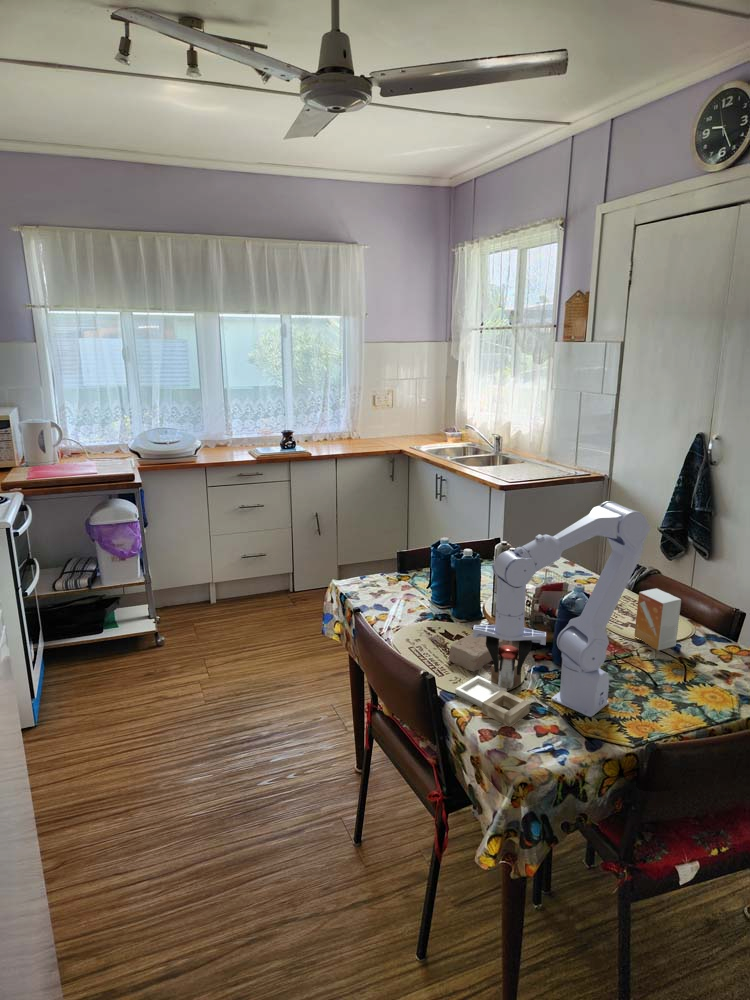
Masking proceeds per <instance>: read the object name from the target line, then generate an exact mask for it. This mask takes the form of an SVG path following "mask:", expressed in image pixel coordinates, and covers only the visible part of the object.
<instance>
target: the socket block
mask: <svg viewBox="0 0 750 1000" xmlns="http://www.w3.org/2000/svg"><path fill="white" fill-rule="evenodd" d="M530 703H531V702H529V701H527V700H525V699H523V698H520V697H518V696H515V694H512V693H510V692H508V691H507V692H505V691H503V690H501V691H500V692H498V693H497V694H495V695H493V696H492V697H490V698H489V699H487V700H486V701H484V702H482V708H481V714H482V715H485V716H487V717H489V718H491V719H493V720H495V721H497V722H499V723H501V724H503V725H505V726H507V727H508V728H511V727H512V726H513V725H515V724H516V723H517V722H519V721H520V720H521V719H524V718H525V717H526V716H527V715H529V714H530V707H531V706H530ZM502 706H504V707H506V708H508V709H506V708H504V707H502Z"/></svg>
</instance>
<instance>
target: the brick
mask: <svg viewBox="0 0 750 1000" xmlns="http://www.w3.org/2000/svg"><path fill="white" fill-rule="evenodd" d="M503 645H510V646H513V641H507V640H502V639H499V647H500V646H503ZM449 647H450V648H449V656H448V660H449V662H451V663H453V664H455V665H458V666H460V667H462V668H464V669H466V670H468V671H471V672H477V671H478V670H480V669H482V668H483V667H484V666H485V665H488V664H489V663H490V662H493V660H492V657H491V655H490V653H489V651H488V649H487V647H486V637H478V638H473V633H471V634H469V635H466V636H465V637H462V638H461V639H458V640H456V641H455V642H454V643H453V644H451V645H450V646H449ZM499 657H501V656H500V655H499Z"/></svg>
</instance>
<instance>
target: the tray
mask: <svg viewBox="0 0 750 1000" xmlns="http://www.w3.org/2000/svg"><path fill="white" fill-rule="evenodd" d="M501 690H503V691H505V692H508V690H507V689H506V688H502V687H500V686H499V685H497V684H495V683H493V682H491V680H488V679H486V678H484V677H482V676H480V675H476V676H475V677H473V678H471V679H469V680H468V681H466V682H464V683H463V684H461V685H459V686H458V687H455V692H454V693H455V694H456V695H455V696H457V697H459V698H461V699H463V700H465V701H467V702H469V703H472V704H473V705H475V706H477V707H479V708H481V709H482V702H484V701H486V700H487V699H489V698H490V697H492V696H493V695H495V694H497V693H498V692H500V691H501Z"/></svg>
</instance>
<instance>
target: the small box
mask: <svg viewBox="0 0 750 1000" xmlns="http://www.w3.org/2000/svg"><path fill="white" fill-rule="evenodd" d="M681 604H682V599H681V598H679V597H677V596H674V595H673V594H671V593H669V592H666V591H664V590H661V589H660V588H650V589H647V590H643V591H639V592H638V599H637V608H636V618H635V627H634V636H635V637H637V638H639V639H641V640H643V641H644V642H645V643H644V642H643V643H644V644H646V645H647V644H648V645H647V646H649V647H651V648H653V649H654V650H656V651H658V652H659V651H662V650H665V649H670V648H674V647H676V645H677V638H678V630H679V622H680V621H679V620H680V612H681V607H682V605H681ZM635 637H634V638H635ZM637 638H636V639H637Z"/></svg>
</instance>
